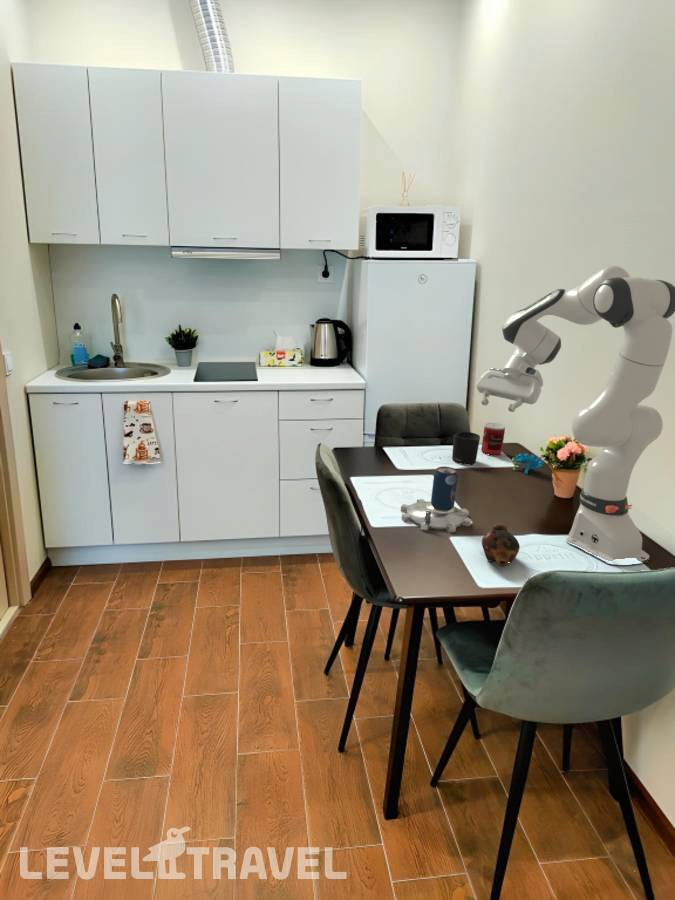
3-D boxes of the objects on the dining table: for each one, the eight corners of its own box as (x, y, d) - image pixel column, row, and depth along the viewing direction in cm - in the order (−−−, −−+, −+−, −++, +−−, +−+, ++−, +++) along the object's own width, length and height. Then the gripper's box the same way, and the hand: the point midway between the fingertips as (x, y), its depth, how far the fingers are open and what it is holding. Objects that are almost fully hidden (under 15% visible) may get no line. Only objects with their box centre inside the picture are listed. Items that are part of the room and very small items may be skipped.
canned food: (489, 448, 269) (492, 421, 266) (505, 454, 263) (509, 426, 260) (476, 451, 264) (480, 424, 261) (493, 457, 259) (497, 429, 255)
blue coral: (546, 467, 246) (540, 453, 238) (542, 481, 243) (536, 467, 236) (516, 464, 252) (510, 450, 244) (512, 478, 249) (505, 464, 242)
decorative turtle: (510, 547, 184) (516, 521, 181) (521, 577, 170) (528, 549, 167) (474, 543, 184) (480, 516, 181) (483, 573, 170) (489, 545, 167)
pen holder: (447, 457, 256) (450, 431, 253) (471, 456, 257) (474, 431, 254) (456, 465, 247) (459, 439, 244) (480, 465, 249) (483, 439, 246)
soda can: (455, 512, 200) (460, 474, 197) (432, 511, 200) (436, 473, 196) (451, 503, 207) (456, 466, 203) (428, 502, 207) (433, 465, 203)
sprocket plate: (484, 529, 195) (486, 514, 193) (418, 535, 188) (420, 520, 186) (449, 501, 213) (451, 487, 212) (388, 506, 206) (389, 492, 205)
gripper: (485, 361, 220) (465, 394, 216) (544, 372, 207) (524, 408, 203) (490, 373, 225) (471, 406, 221) (548, 385, 212) (528, 420, 208)
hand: (497, 407), depth 212 cm, fingers open, 8 cm apart
